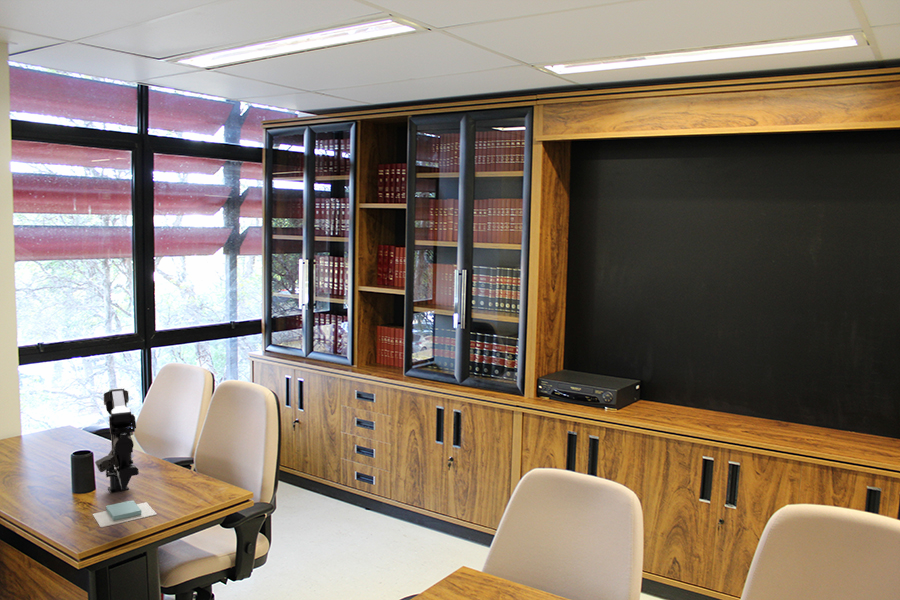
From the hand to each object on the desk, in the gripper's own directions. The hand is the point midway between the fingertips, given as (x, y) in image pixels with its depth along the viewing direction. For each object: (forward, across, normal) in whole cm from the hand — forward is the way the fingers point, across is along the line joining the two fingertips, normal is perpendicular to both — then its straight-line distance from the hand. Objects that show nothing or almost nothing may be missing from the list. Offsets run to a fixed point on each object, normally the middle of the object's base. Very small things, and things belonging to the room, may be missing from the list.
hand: (123, 489), depth 235 cm
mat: (+9, 0, 0) cm, 9 cm away
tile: (+8, -7, 0) cm, 11 cm away
